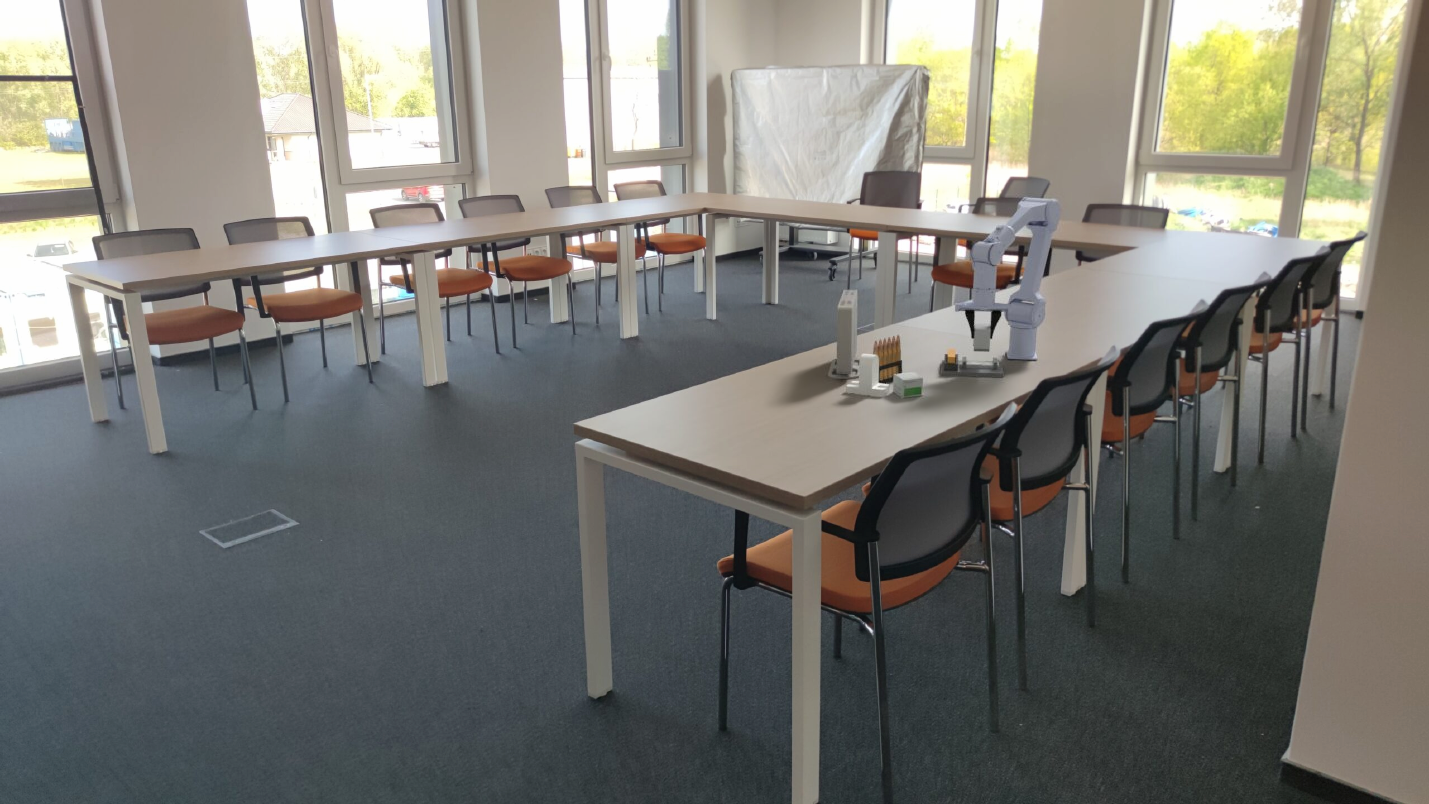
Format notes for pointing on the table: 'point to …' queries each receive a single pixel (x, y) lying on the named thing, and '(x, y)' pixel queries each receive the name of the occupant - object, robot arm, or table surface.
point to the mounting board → (974, 371)
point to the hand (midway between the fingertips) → (981, 337)
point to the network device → (846, 337)
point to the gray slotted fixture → (969, 364)
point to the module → (981, 337)
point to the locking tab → (951, 356)
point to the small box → (908, 384)
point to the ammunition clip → (888, 359)
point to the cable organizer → (868, 378)
